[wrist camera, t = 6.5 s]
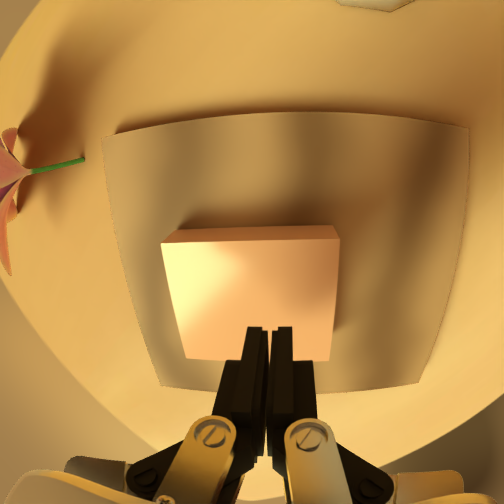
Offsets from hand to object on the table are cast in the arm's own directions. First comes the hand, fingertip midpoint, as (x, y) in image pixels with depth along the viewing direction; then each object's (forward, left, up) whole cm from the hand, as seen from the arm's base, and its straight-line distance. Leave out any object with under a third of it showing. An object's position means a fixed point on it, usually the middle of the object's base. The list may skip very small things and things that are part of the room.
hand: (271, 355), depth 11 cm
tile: (-3, 0, -4) cm, 5 cm away
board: (-1, 0, -7) cm, 7 cm away
